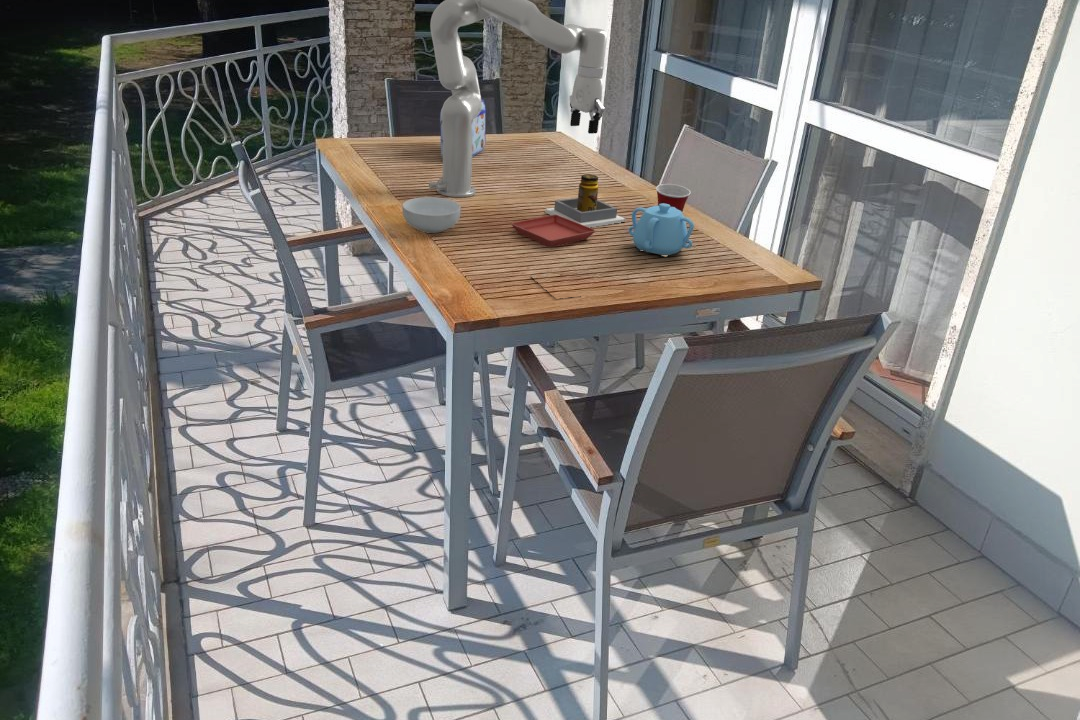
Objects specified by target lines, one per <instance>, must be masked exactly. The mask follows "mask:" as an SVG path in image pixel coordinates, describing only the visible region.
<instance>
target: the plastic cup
mask: <svg viewBox="0 0 1080 720" xmlns="http://www.w3.org/2000/svg"><path fill="white" fill-rule="evenodd" d="M655 189H656V195H657V206H659V204H662V203H665V204H669V205H670V207H675V208H676V209H678V210H680V211H681V212H682V213H683V211H684V209H685V206H686V202H687V201H688V198H689V196H690V195H691V193H692V192H691V190H690V189H688V187H685V186H683V185H679V184H674V183H661V184H658V185H657V186H656V187H655Z"/></svg>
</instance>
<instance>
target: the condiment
mask: <svg viewBox="0 0 1080 720" xmlns="http://www.w3.org/2000/svg"><path fill="white" fill-rule="evenodd" d="M580 178H581V179H580V183H579V184H578V194H577V195H578V196H577V198H578V203H577V210H579V211H581V212H586V211H594V210H596V206H597V199H598V195H599V185H598V184H599V181H598V180H599V177H598V176H597V175H595V174H591V173H584V174H582V175H581V176H580Z"/></svg>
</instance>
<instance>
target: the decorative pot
mask: <svg viewBox="0 0 1080 720" xmlns="http://www.w3.org/2000/svg"><path fill="white" fill-rule="evenodd" d="M638 212H643V213H641V214H642V215H640V218H639V219H638V221H637V213H638ZM631 221H632V225H631V226H630V227H629V228H628V234H629V235H631V236H632V241H633V245H634V246H635V247H636V249H638V250H643V251H646V252H645V253H649V254H650V253H651V254H656V255H659V256H660V255H669V256H670V255H674V254H678V253H679V252H680V251H682V250H683V249H684V248H685V249H690V248H692V246H693V241H692V240H691V239H690V237H691V236H692V233H693V231H694V228H695V224H694V222H693V220H692V219H691V218H689V217H687V216H684V214H683V212H681V211H680V210H678V209H676V208H675V207H670V205H669V204H665V203H662V204H659V206H658V205H653V206H650V207H647V208H645V207H641V206H640V207H636V208H635V209H634V210H633V211H632V212H631ZM687 224H688V225H689V227H687ZM687 243H688V244H687Z"/></svg>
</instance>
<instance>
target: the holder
mask: <svg viewBox="0 0 1080 720" xmlns="http://www.w3.org/2000/svg"><path fill="white" fill-rule="evenodd" d="M577 203H578V197H574V198H566V199H564V198H563V199H556V200H554V207H548V208H545V213H546V214H548V216H551V215H559V216H561V217H564V218H566V219H569V220H571V221H574V222H576V223H579V224H582V225H584V226H587V227H592V228H596V227H595V226H599V227H603V226H602V225H605V226H609V225H608V224H612V225H615V224H614V223H619V224H622V223H621V222H626V218H624V217H622V216H619V215H618V207H615V206H613V205H610V204H609V203H606V202H604V201H602V200H600V199H598V198H597V206H596V210H594V211H586V212H581V211H579V210H577Z"/></svg>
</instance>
